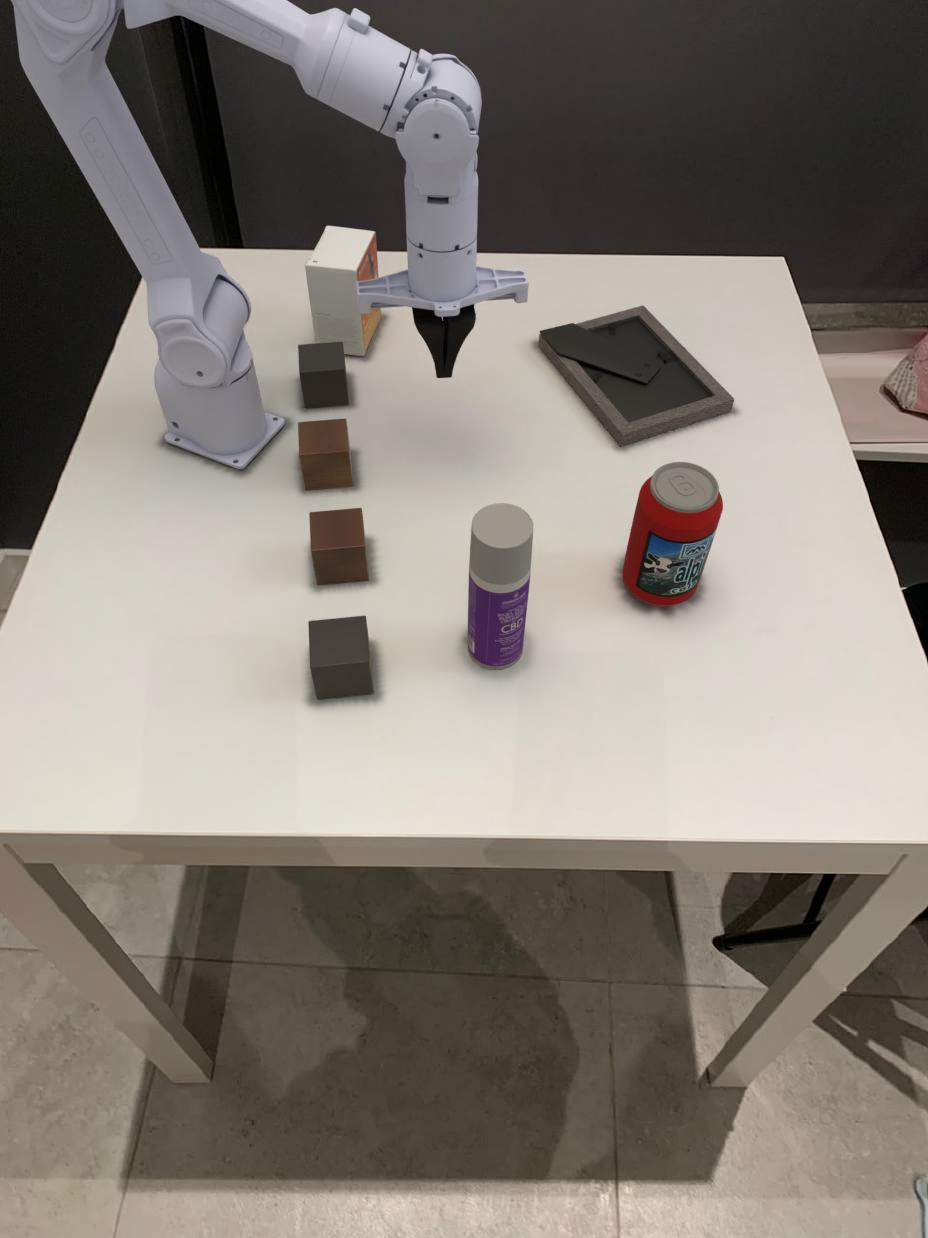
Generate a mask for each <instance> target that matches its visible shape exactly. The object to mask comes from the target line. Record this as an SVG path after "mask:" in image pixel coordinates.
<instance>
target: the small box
mask: <svg viewBox="0 0 928 1238" xmlns="http://www.w3.org/2000/svg"><path fill="white" fill-rule="evenodd" d="M377 245H378V244H377V233H376V231H374V230H368V229H360V228H352V227H344V226H343V227H342V226H334V225H326V226H325V228H324V230H323V233H322V234H321V236H320V238H319V240H318V242H317V244H316V245H315V247H314V249H313V251H312V253H311V254H310V257H309V258H308V259H307V261H306V262H305V264H304V269H305V278H306V284H307V290H308V291H307V292H308V299H309V307H310V311H311V312H310V313H311V321H312V328H313V334H314V341H315V342H314V343H315V344H316V343H330V342H343V348H344V355H350V356H358V357H365V356H366V353H367V350H368V348H369V345H370V343H371V340H372V338H373V336H374V334H375V332H376V330H377V327H378V325H379V322H380V320H381V318H382V308H375V309H371V310H372V311H371V313H368V314H359V311H358V301H357V291H356V281H364V280H371V279H375V278H379V277H380V276H379V262H378V261H379V260H378V248H377V247H378V246H377Z"/></svg>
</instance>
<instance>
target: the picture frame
mask: <svg viewBox="0 0 928 1238" xmlns="http://www.w3.org/2000/svg"><path fill="white" fill-rule="evenodd" d="M538 334H539V335H538V344H537V345H538V348H539V349H540V350H541V351H542V353H543V354H544V355H545V356H546V357H547V359H548V360H549V361H550V362H551V364H553V366H554V367H555V368H556V370H558V372H559V373H560V375H562V377H563V378H564V380H566V382H567V383H568V384H569V385H570V387H571V388H572V389H573V390H574V391H575V393H576V394H577V395H578V396H579V398H580V399H581V400H582V402H584V404H585V405H586V406H587V408H589V410H590V411H591V412H592V413H593V415H594V416H595V417H596V418H597V420H598V421H599V422H600V423H601V424H602V426H603V427H604V428H605V429H606V430H607V432H608V433H609V434H610V436H612V438H613V439H614V440H615V442H616V443H617V444H618V445H619V447H624V446H627V445H630V444H633V443H637V442H639V441H642V440H645V439H649V438H653V437H655V436H658V435H660V434H665V433H667V432H671V431H674V430H677V429H680V428H683V427H686V426H690V425H692V424H695V423H698V422H699V423H700V422H701V421H705V420H708V419H711V418H714V417H717V416H720V415H724V414H727V413H730V412H732V410H733V406H734V403H735V401H736V400H735V398H734V397H733V395H731V394H730V393H729V392H728V391H727V390H726V389H725V388H724V387H723V385H721V383H720V382H719V381H717V379H716V378H715V377H713V375H712V374H711V373H710V372H709V371H708V370H707V369H706V368H705V367H704V366H703V365H702V363H700V362H699V361H698V360H697V359H696V358H695V357H694V355H693V354H692V353H690V351H688V350H687V349H686V347H685V346H684V345H682V343H680V341H679V340H678V339H677V338H676V337H675V336H674V334H672V333H671V332H670V331H669V330H668V329H667V328H666V327H665V326H664V325H663V324H662V323H661V322H660V321H659V320H658V318H656V317H655V315H653V314H652V313H651V311H650V310H649V309H648V308H647V307H645V305H642V304H641V305H639V306H636V307H635V306H634V307H632V308H628V309H625V310H621V311H617V312H614V313H610V314H607V315H604V316H600V317H596V318H592V319H589V320H585V321H581V322H577V323H574V322H570V323H567V324H562V325H559V326H553V327H550V328H545V329H541V330H539V333H538Z"/></svg>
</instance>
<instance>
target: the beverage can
mask: <svg viewBox="0 0 928 1238" xmlns="http://www.w3.org/2000/svg"><path fill="white" fill-rule="evenodd" d="M723 510H724V502H723V496H722V493H721V491H720V487H719V483H718V480H717V478H716V477H715V475H714V474H712V472H710V471H709V470H708V469H707V468H705V467H703V466H701V465H699V464H696V463H692V462H688V461H672V462H668V463H665V464H663V465H661V466H659V467H658V468H657V469H656V470H655V471H654V472H653V473H652V475H651V476H650V477H648V478H647V479H646V480H645V481H644V482H643V484H642V485H641V487H640V488H639V492H638V497H637V500H636V505H635V510H634V513H633V518H632V522H631V527H630V532H629V536H628V542H627V546H626V551H625V555H624V560H623V565H622V571H621V574H622V580H623V582H624V585H625V587H626V588H627V590H628V591H629V592H630V593H631V594H632V595H633V596H635V597H636V598H638V599H639V600H641V601H643V602H644V603H648V604H651V605H654V606H661V607H669V606H671V607H672V606H676V605H679V604H682V603H684V602H686V601H688V600H689V599H690V598H691V597H692V596H693V595H694V594H695V593H696V591H697V589H698V586H699V583H700V581H701V578H702V575H703V572H704V569H705V567H706V563H707V561H708V557H709V554H710V551H711V548H712V545H713V542H714V538H715V535H716V533H717V529H718V527H719V523H720V520H721V516H722V513H723Z"/></svg>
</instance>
